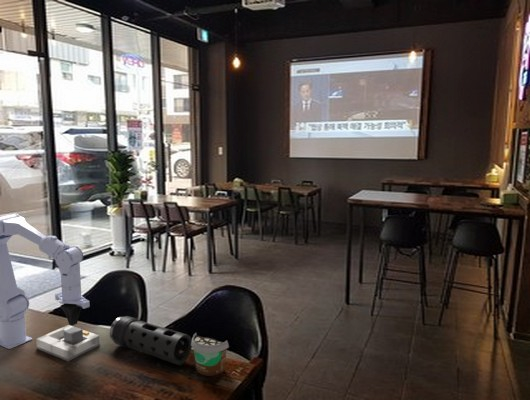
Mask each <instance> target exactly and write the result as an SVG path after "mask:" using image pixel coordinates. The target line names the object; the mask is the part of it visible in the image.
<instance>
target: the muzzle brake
mask: <svg viewBox="0 0 530 400" xmlns="http://www.w3.org/2000/svg"><path fill="white" fill-rule="evenodd" d="M109 337H110V339H111V341H113V342H114V344H116V345H117V346H120V347H122V348H123V347H124V348H129V349H130V350H132V351H135V352H138V353H139V352H141V353H142V354H147V355H148V356H152V357H154V358H158V359H160V360H162V361H166V362H168V363H171V364H173V365H176V366H179V367H181V366H182V365H183V364H184V363H185V362H186V361H187V360H188V358H189V356H190V354H191V351H192V349H193V347H192V346H191V342H192V338H191V336H190V335H188V334H187V333H183V332H179V331H177V330H173V329H171V328H170V329H169V328H165V327H162V326H158V325H156V324H153V323H149V322H146V321H143V320H140V319H138V318H136V317H132V316H128V315H125V316H119V317H117V318H115V320H114V321H113V322H112V323H111V325H110V328H109ZM181 351H182V352H181Z"/></svg>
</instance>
